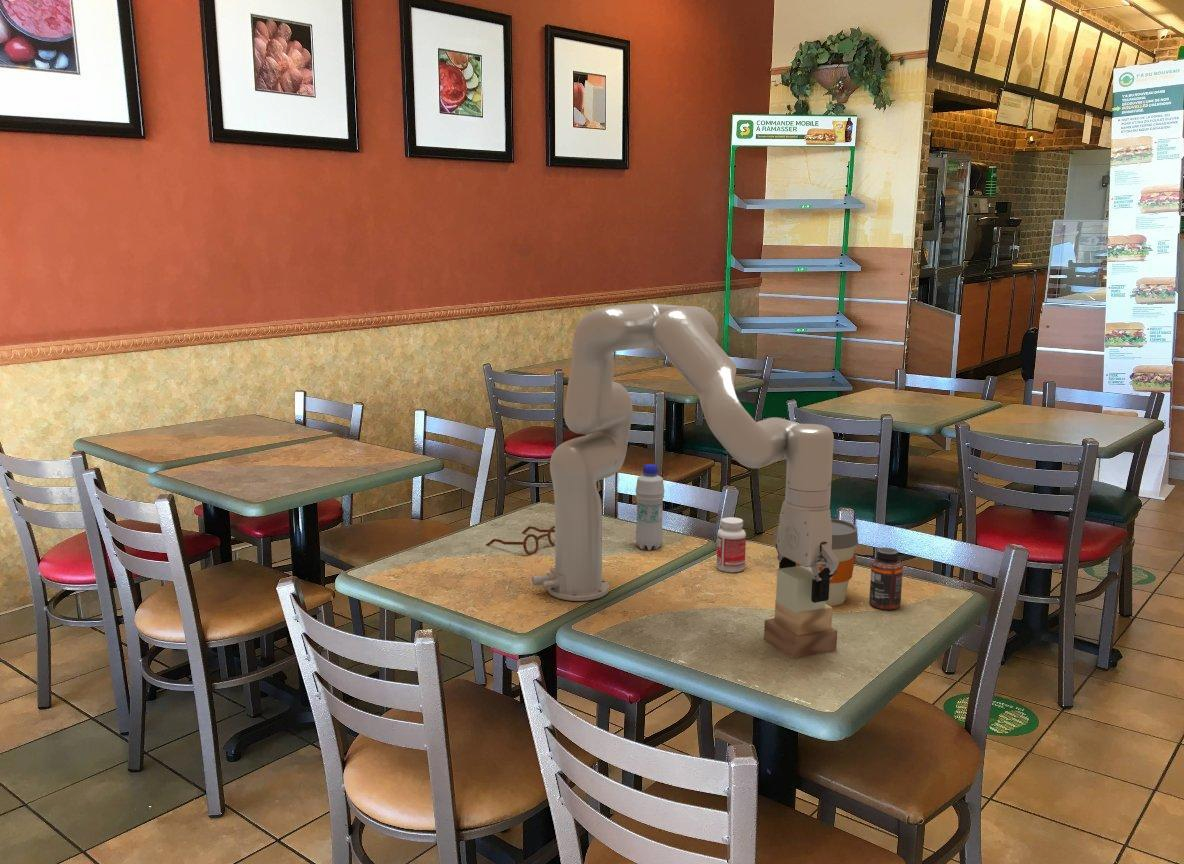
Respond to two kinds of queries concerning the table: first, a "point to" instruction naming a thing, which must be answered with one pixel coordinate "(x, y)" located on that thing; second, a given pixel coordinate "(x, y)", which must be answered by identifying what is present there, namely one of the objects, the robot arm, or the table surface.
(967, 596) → the table surface
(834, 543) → the reusable coffee cup
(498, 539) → the glasses
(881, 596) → the supplement bottle
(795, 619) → the oak block
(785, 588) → the sage cube
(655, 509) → the bottle
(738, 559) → the pill bottle
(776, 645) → the walnut block
